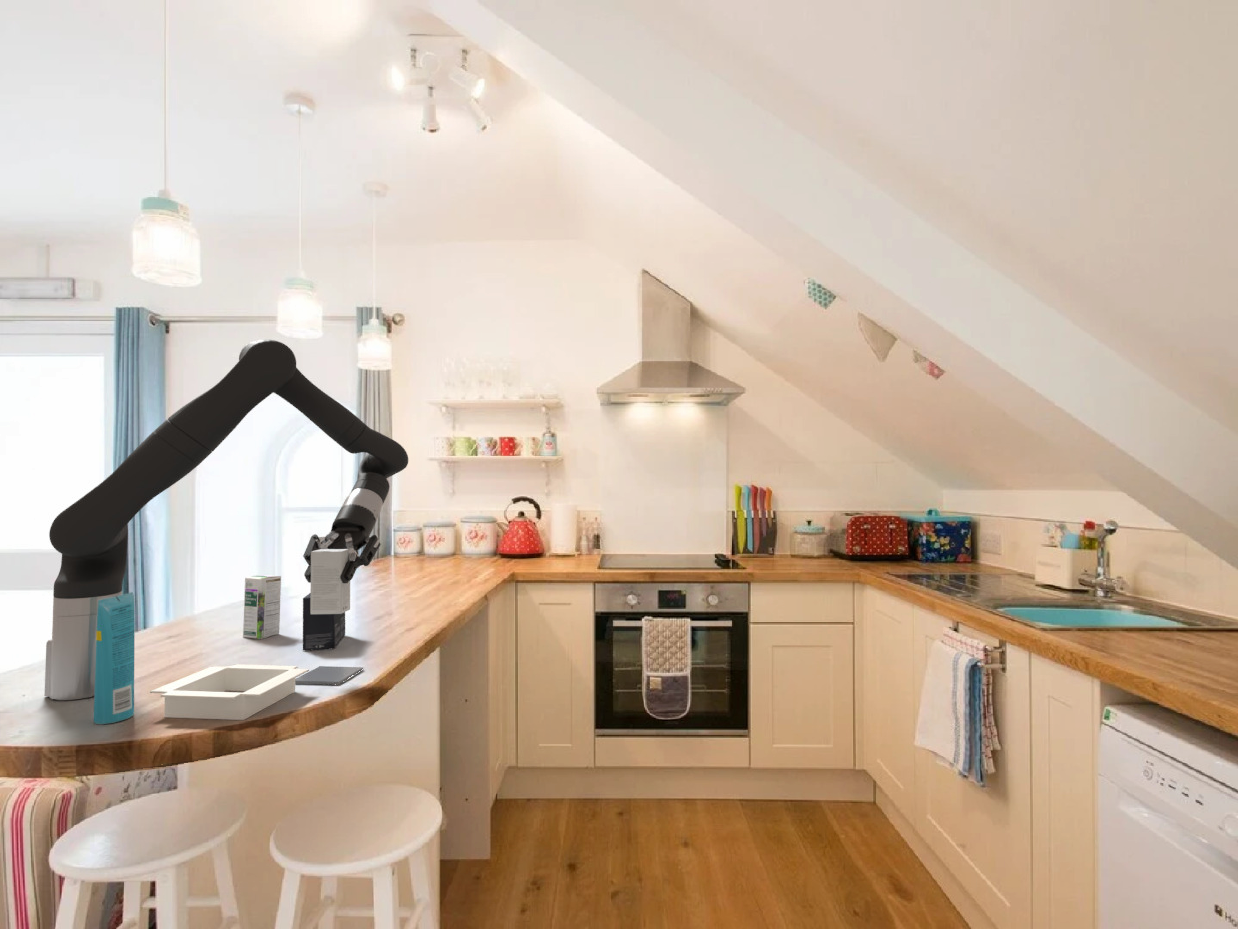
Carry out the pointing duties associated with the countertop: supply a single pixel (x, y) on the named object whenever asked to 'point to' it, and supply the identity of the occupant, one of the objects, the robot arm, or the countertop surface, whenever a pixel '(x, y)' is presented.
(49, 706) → the countertop surface
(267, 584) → the syrup box
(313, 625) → the small box
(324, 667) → the coaster
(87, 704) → the countertop surface
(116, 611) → the tube
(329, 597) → the skincare box
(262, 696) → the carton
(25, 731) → the countertop surface
